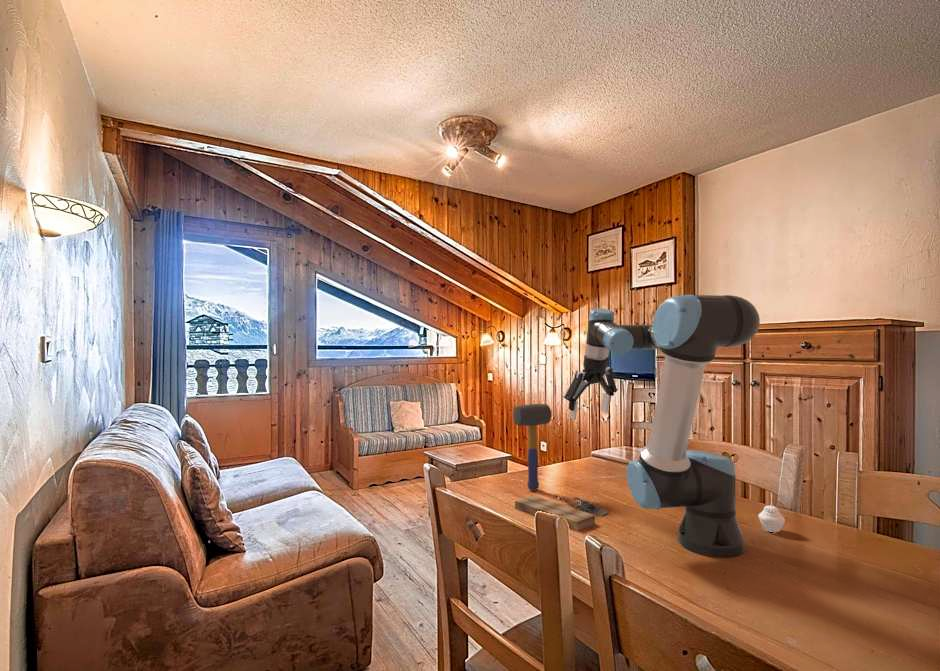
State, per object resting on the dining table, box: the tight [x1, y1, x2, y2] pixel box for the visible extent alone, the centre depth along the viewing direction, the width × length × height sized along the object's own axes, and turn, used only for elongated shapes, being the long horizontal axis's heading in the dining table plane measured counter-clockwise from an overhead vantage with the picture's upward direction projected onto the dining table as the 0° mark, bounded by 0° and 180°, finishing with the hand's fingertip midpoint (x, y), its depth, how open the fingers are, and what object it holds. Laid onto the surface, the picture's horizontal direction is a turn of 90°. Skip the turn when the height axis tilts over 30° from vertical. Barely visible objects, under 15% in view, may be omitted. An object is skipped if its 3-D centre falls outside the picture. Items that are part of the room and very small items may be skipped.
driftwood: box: [553, 495, 610, 517], centre depth 156 cm, size 21×7×2 cm, turn 24°
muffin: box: [758, 505, 786, 533], centre depth 134 cm, size 6×6×7 cm
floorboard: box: [514, 495, 596, 532], centre depth 147 cm, size 24×8×2 cm, turn 40°
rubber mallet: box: [512, 403, 553, 492], centre depth 173 cm, size 12×8×30 cm, turn 111°
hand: (588, 415), depth 167 cm, fingers open, 13 cm apart
